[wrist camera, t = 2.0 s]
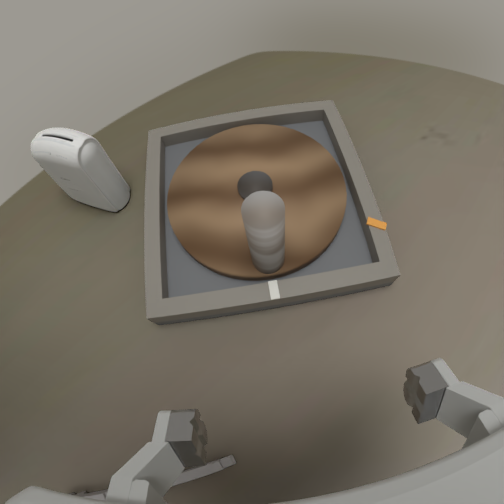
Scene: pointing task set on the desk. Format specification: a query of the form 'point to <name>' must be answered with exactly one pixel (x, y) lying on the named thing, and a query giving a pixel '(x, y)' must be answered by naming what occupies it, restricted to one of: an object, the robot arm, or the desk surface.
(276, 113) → the dial base
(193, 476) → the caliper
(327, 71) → the desk surface
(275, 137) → the dial
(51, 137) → the photo printer
